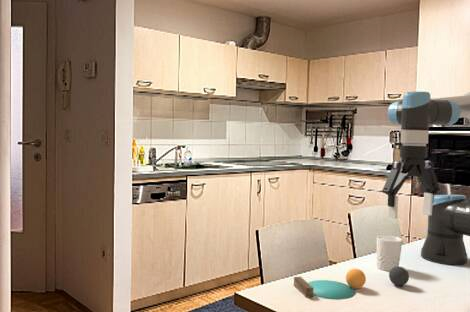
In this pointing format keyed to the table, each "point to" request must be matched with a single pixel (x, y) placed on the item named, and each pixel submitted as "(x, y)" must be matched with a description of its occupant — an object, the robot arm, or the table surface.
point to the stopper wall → (303, 286)
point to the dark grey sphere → (399, 276)
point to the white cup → (388, 252)
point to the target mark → (331, 289)
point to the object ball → (355, 278)
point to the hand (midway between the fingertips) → (410, 216)
